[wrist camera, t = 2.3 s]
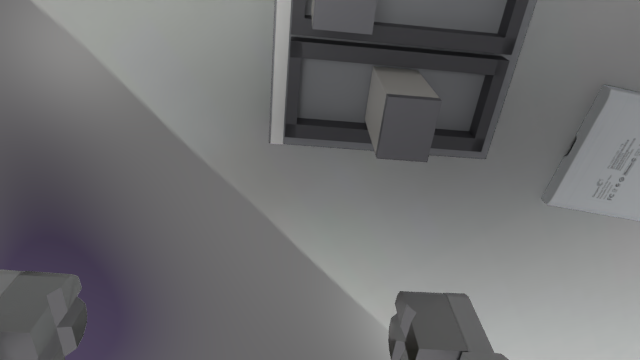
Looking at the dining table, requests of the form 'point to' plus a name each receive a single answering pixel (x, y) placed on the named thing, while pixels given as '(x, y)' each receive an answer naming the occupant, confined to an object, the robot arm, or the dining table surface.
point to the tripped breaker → (401, 114)
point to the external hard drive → (603, 160)
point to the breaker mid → (344, 15)
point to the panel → (402, 53)
